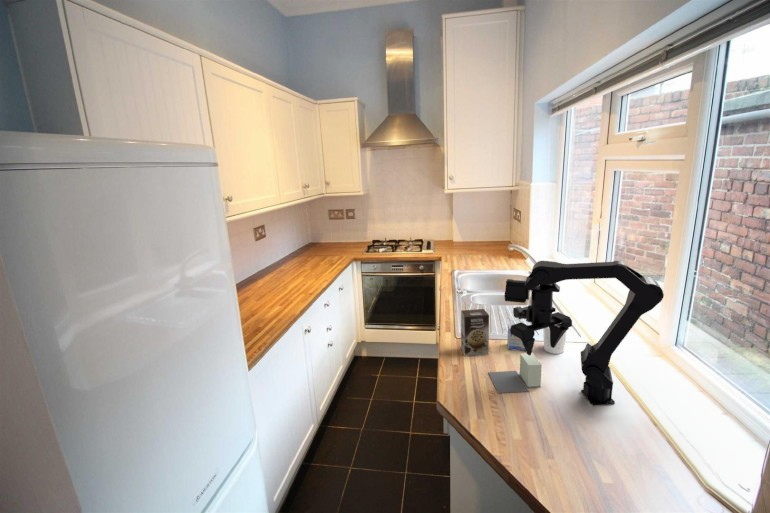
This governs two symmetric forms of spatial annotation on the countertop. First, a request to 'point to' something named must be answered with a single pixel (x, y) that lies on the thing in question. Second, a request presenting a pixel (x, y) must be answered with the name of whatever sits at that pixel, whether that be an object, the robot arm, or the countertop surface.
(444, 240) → the countertop surface
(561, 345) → the white cup
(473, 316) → the brown cookie box
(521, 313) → the robot arm
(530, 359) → the sage block
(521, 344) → the medicine box
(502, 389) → the mat
